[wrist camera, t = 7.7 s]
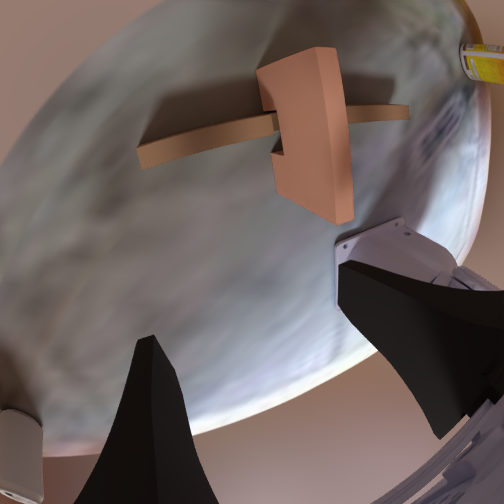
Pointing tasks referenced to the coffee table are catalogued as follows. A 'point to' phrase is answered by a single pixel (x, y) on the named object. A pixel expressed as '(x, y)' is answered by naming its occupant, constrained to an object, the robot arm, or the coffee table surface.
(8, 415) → the beverage can
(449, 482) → the robot arm
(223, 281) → the coffee table surface
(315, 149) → the tan flat plank
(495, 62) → the supplement bottle
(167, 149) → the walnut board
